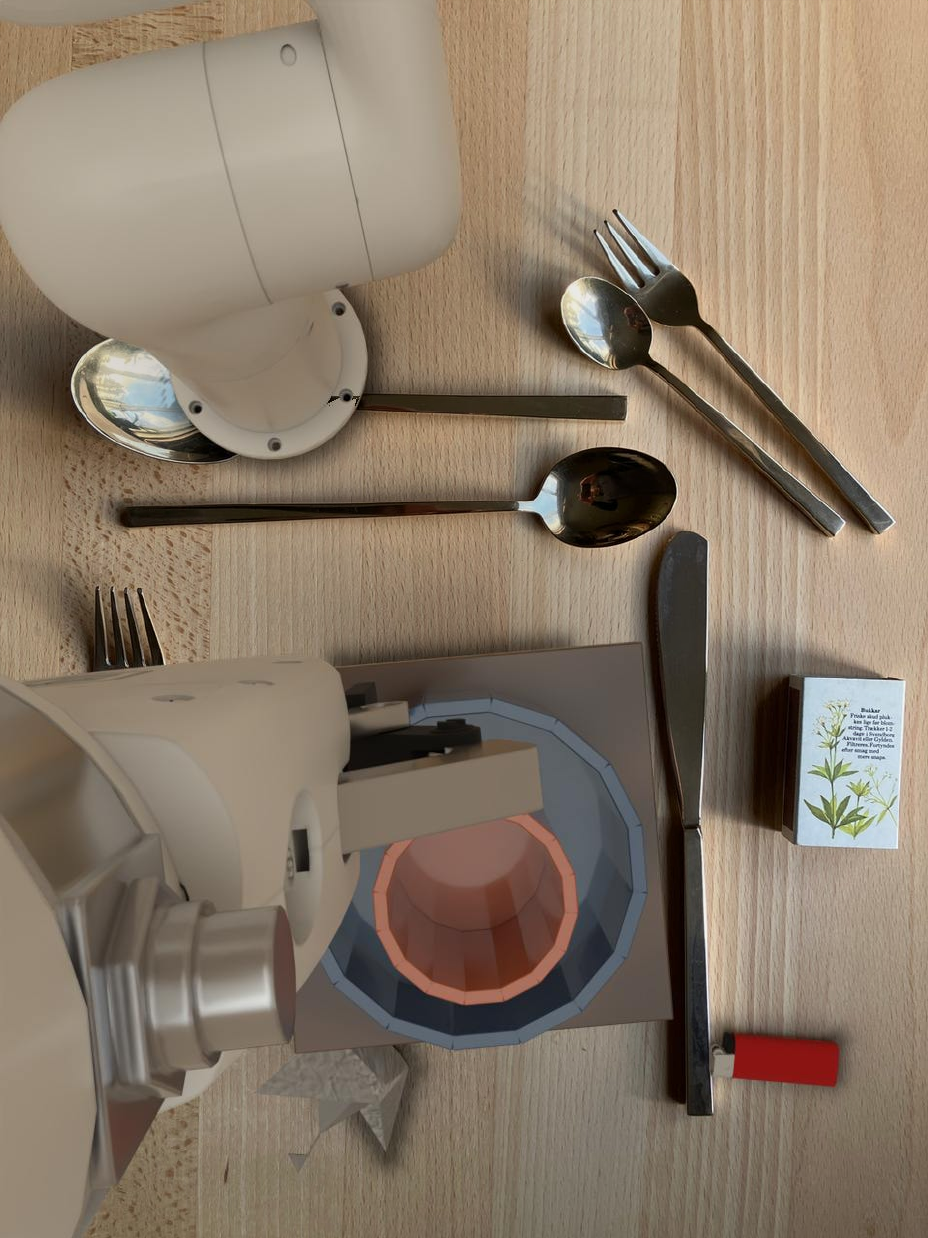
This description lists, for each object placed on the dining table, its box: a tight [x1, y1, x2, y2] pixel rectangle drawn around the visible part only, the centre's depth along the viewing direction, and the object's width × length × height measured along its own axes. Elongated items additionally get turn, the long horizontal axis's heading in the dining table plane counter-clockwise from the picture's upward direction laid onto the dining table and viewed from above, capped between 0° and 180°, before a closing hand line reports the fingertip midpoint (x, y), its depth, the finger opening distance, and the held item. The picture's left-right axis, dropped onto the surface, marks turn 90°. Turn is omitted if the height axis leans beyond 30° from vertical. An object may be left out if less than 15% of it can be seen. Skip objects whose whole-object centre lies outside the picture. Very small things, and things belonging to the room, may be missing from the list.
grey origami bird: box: [253, 1045, 410, 1173], centre depth 65 cm, size 12×6×9 cm
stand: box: [292, 641, 674, 1055], centre depth 56 cm, size 16×16×24 cm
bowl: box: [320, 689, 648, 1051], centre depth 42 cm, size 13×13×4 cm
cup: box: [372, 809, 578, 1005], centre depth 40 cm, size 7×7×8 cm
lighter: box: [708, 1032, 840, 1088], centre depth 68 cm, size 3×1×8 cm
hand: (188, 760), depth 28 cm, fingers open, 9 cm apart
